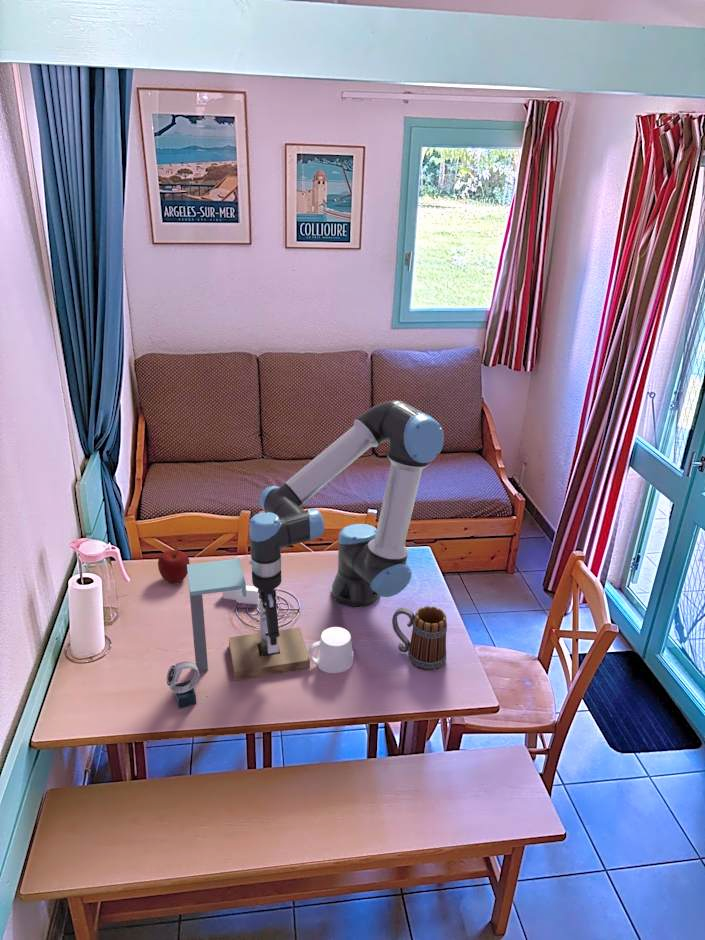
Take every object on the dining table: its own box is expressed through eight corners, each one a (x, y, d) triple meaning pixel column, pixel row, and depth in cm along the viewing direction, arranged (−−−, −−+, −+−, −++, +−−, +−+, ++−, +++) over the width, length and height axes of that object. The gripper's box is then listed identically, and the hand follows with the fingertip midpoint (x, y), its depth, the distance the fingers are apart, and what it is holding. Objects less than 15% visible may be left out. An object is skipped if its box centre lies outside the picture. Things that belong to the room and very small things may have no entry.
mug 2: (449, 651, 203) (454, 608, 196) (441, 676, 194) (446, 631, 187) (396, 638, 207) (399, 595, 201) (385, 661, 198) (388, 617, 192)
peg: (260, 653, 200) (258, 612, 194) (274, 651, 201) (273, 610, 195) (262, 663, 196) (261, 621, 190) (277, 660, 197) (276, 619, 191)
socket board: (299, 635, 207) (299, 627, 206) (309, 668, 195) (309, 660, 194) (229, 646, 202) (228, 637, 201) (235, 680, 190) (234, 671, 189)
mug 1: (349, 624, 198) (356, 643, 191) (348, 651, 202) (355, 670, 195) (306, 630, 195) (312, 649, 188) (306, 657, 199) (311, 677, 192)
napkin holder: (271, 603, 221) (270, 587, 218) (240, 618, 214) (239, 603, 211) (241, 581, 231) (240, 566, 228) (211, 595, 223) (210, 580, 221)
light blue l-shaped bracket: (244, 646, 202) (239, 558, 189) (249, 675, 192) (245, 584, 179) (194, 653, 199) (186, 564, 186) (197, 683, 189) (189, 591, 176)
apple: (187, 589, 225) (184, 562, 220) (156, 588, 225) (153, 561, 221) (193, 572, 233) (191, 545, 229) (163, 571, 233) (161, 544, 229)
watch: (167, 695, 185) (163, 662, 180) (198, 687, 188) (195, 654, 183) (171, 711, 180) (167, 677, 175) (203, 702, 183) (200, 668, 178)
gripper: (245, 545, 196) (248, 609, 205) (259, 601, 174) (262, 668, 184) (273, 542, 197) (275, 605, 207) (289, 596, 176) (291, 664, 186)
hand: (269, 635), depth 195 cm, fingers open, 13 cm apart
